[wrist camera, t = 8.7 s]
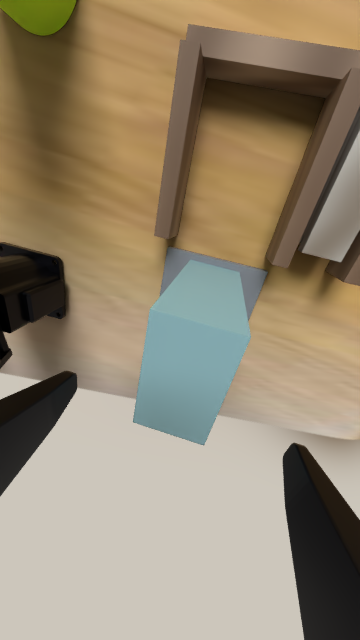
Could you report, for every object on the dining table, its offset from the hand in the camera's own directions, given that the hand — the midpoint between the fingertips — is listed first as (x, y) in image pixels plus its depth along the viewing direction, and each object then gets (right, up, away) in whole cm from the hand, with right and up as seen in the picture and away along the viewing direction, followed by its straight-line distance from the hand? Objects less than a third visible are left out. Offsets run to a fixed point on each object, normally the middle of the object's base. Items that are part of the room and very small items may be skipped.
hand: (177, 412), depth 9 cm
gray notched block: (+10, +12, +5) cm, 17 cm away
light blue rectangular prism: (+2, +5, +10) cm, 11 cm away
